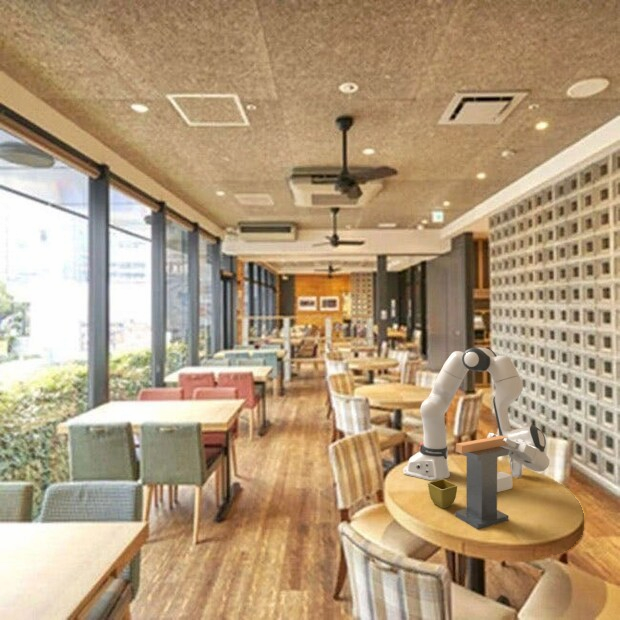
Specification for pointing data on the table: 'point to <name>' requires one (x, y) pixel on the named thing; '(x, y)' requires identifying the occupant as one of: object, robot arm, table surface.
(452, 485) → the flower pot
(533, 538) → the table surface
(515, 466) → the cup with straw
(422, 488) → the table surface
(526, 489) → the table surface
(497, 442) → the orange-brown square bar
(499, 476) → the milk
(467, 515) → the pedestal
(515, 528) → the table surface
